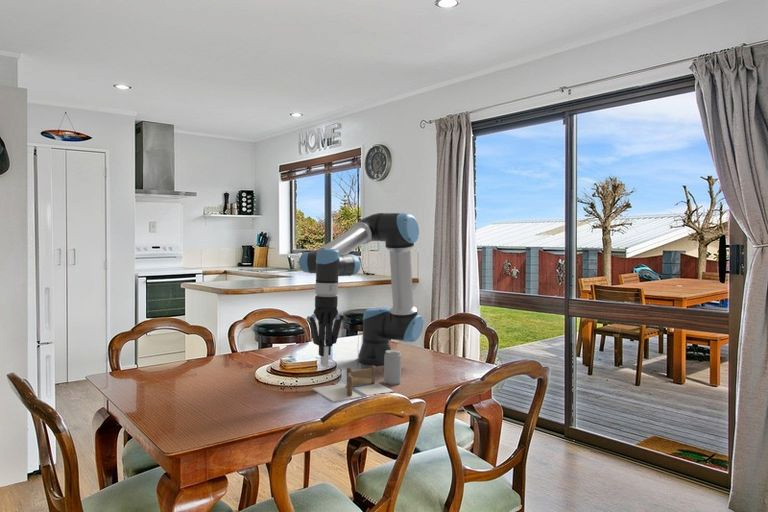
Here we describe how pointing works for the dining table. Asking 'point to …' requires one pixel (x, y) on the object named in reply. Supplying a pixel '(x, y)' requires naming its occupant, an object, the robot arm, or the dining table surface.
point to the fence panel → (349, 384)
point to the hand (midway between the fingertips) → (324, 365)
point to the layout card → (340, 391)
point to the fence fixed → (362, 376)
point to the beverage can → (392, 367)
